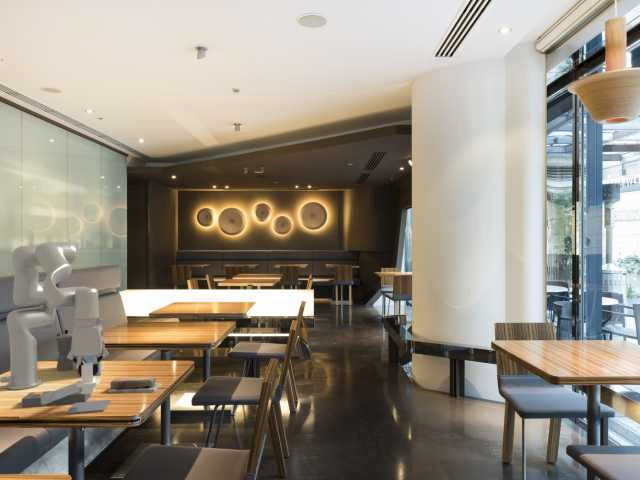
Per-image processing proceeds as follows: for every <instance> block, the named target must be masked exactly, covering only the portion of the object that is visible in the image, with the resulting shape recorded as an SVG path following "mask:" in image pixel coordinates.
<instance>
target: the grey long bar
mask: <svg viewBox="0 0 640 480" xmlns="http://www.w3.org/2000/svg"><path fill="white" fill-rule="evenodd" d="M80 381H81V380H80ZM80 381H79V380H78V381H76V382H74V383H72V384H71V383H70V384H68V385H66V386H63V387H61V388H58V389H55V390H51V391H52V392H49V393H47V394H44V395H41V405H45V404H47V403H50V402H53V401H55V400H58V399H60V398H63V397H65V396H68V395H70V394H73V393H75V392H78V391H81V390H82V387H76V384H77V383H79V382H80Z"/></svg>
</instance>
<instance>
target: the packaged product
mask: <svg viewBox="0 0 640 480" xmlns="http://www.w3.org/2000/svg"><path fill="white" fill-rule="evenodd" d="M156 380H157V378H156V377H153V376H152V377H151V376H149V377H147V376H146V377H143V376H142V377H115V378H114V379H112V380H111V381H110V389H108V394H139V393H140V394H141V393H143V394H144V393H155V392H156V391H157V390H158V389H159V388H160V387H161V386H162V384H163V383H162V382H156Z"/></svg>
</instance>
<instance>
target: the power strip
mask: <svg viewBox="0 0 640 480" xmlns="http://www.w3.org/2000/svg"><path fill="white" fill-rule="evenodd" d="M52 391H53V390H47V391H34V392H28V393H27V394H26V395H25V396H24V397H22V398H21V408H31V407H42V406H45V405H46V406H55V405H57V406H58V405H68V404H74V403H78V402H88V401H89V398H91V395H92V393H90V394H82V390H81V391H78V392H75V393H73V394H70V395H68V396H65V397H63V398H60V399H58V400H55V401H53V402H50V403H47V404H45V405H41V395H44V394H47V393H49V392H52ZM46 406H45V407H46Z"/></svg>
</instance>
